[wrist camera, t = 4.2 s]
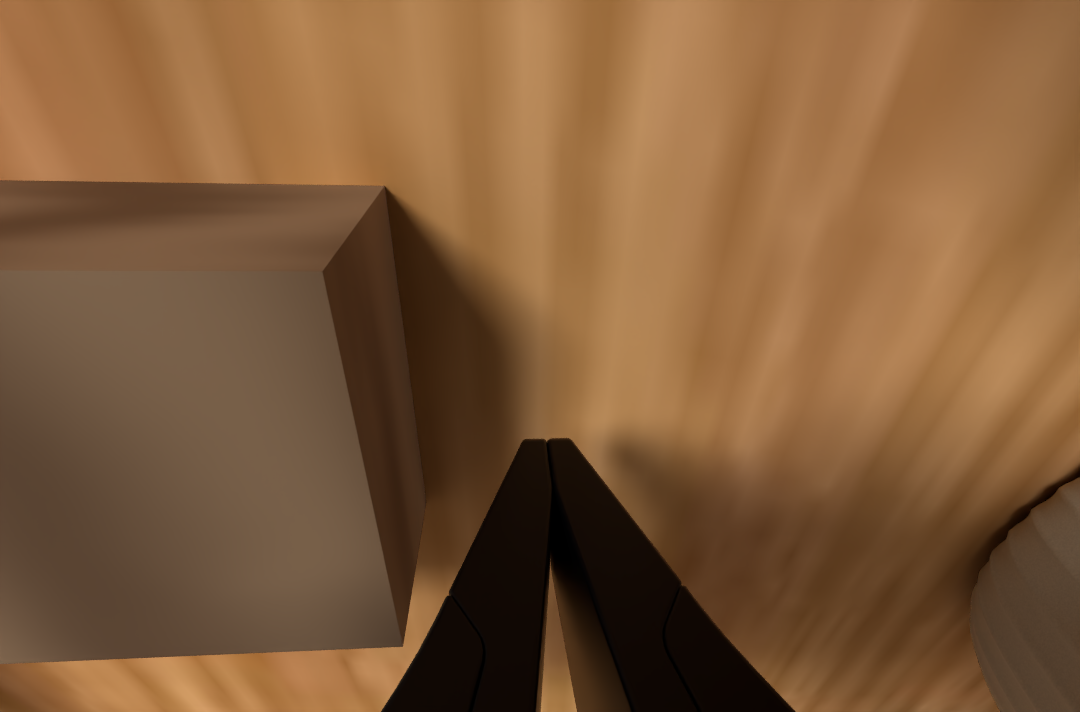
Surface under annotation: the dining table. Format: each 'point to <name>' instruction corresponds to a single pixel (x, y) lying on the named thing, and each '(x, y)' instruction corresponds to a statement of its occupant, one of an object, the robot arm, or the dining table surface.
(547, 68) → the dining table surface
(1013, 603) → the canister
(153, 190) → the walnut block
